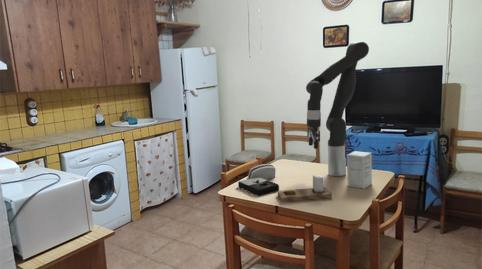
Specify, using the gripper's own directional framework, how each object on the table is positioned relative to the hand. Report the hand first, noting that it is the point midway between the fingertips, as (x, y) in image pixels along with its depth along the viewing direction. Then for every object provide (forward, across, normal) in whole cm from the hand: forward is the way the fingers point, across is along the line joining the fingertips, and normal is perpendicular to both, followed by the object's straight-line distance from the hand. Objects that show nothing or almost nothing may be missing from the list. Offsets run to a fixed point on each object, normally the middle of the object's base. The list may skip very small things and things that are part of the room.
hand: (313, 146), depth 203 cm
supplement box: (+17, -20, -18) cm, 32 cm away
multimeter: (+20, -10, +33) cm, 40 cm away
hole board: (+18, -29, +14) cm, 37 cm away
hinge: (+19, +6, +28) cm, 34 cm away
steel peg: (+18, -30, +7) cm, 35 cm away
